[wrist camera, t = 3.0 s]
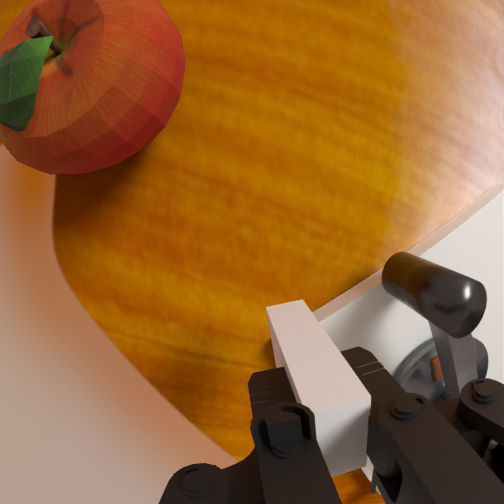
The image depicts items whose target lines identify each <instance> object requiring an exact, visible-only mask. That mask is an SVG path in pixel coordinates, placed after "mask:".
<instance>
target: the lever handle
mask: <svg viewBox="0 0 504 504" xmlns="http://www.w3.org/2000/svg"><path fill="white" fill-rule="evenodd" d="M382 285H383V287H384V289H385V291H386V292H387V293H389V294H390V295H392V296H393V297H395V298H396V299H398V300H399V301H400V302H402V303H403V304H405V305H406V306H408V307H409V308H411V309H412V310H414V311H415V312H417V313H418V314H420V315H421V316H423V317H424V318H425V319H427V320H428V323H429V326H430V329H431V333H432V336H433V338H431V339H429V340H428V341H427V342H425V343H424V344H422V345H421V346H420V347H419V348H418V349H416V350H415V351H414V352H413V353H412V354H411V355H410V356H409V357H408V358H407V359H406V361H405V362H404V363H403V364H402V366H401V367H400V368H399V369H398V371H397V372H396V374H395V375H394V377H393V378H394V379H395V380H396V381H397V382H398V383H399V384H400V386H401V387H402V388H403V389H404V390H405V391H406V393H416V394H419V395H423V396H424V397H425V398H427V399H428V400H429V401H430V402H440V401H445V400H450V399H455V398H459V397H460V393H461V389H462V388H463V387H464V385H465V384H466V383H468V382H470V381H471V380H474V379H479V378H486V375H487V370H488V352H487V350H486V347H485V346H484V344H483V343H482V342H481V341H479V340H478V339H476V338H475V337H473V336H472V334H471V333H472V332H473V331H474V330H475V328H476V327H477V326H478V325H479V323H480V321H481V320H482V318H483V315H484V313H485V309H486V305H487V293H486V289H485V287H484V285H483V284H482V283H481V282H479V281H477V280H475V279H472V278H470V277H468V276H465V275H463V274H460V273H458V272H456V271H453V270H451V269H448V268H446V267H443V266H441V265H438V264H436V263H433V262H431V261H428V260H426V259H423V258H421V257H418V256H415V255H413V254H410V253H408V252H399V253H396V254H394V255H393V256H391V257H390V258H389V259H388V261H387V262H386V264H385V265H384V268H383V271H382ZM490 443H491V444H498V443H497V442H495V441H494V440H492V439H491V441H490Z"/></svg>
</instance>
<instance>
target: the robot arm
mask: <svg viewBox="0 0 504 504" xmlns="http://www.w3.org/2000/svg"><path fill="white" fill-rule="evenodd" d="M266 312H267V317H268V323H269V329H270V334H271V340H272V346H273V352H274V357H275V363H276V367H277V368H275V369H270V370H265V371H260V372H255V373H253V374H252V376H251V378H250V380H249V382H248V388H249V395H250V401H251V408H252V414H253V419H252V420H251V427H250V429H251V433H252V437H253V440H254V444H255V447H254V450H253V451H252V452H251V453H250V455H249V456H247V457H246V458H245V459H244V460H242V461H240V462H238V463H236V464H234V465H232V466H230V467H227V468H224V469H220V468H219V467H217V466H216V465H211V464H206V463H200V464H192V465H189V466H186V467H183V468H182V469H180V470H179V471H177V472H176V473H174V475H173V476H172V477H171V479H170V480H169V482H168V484H167V486H166V488H165V491H164V493H163V495H162V497H161V500H160V502H159V504H342V503H341V500H340V498H339V495H338V493H337V490H336V487H335V485H334V482H333V480H332V477H334V476H337V475H341V474H344V473H347V472H350V471H353V470H356V469H359V468H362V467H365V466H366V464H367V455H368V457H369V459H370V461H371V462H372V464H373V473H372V480H371V487H370V488H371V494H373V493H375V491H376V486H377V487H378V489H379V491H380V493H381V495H382V497H383V499H384V501H385V503H386V504H504V384H502V383H500V382H498V381H496V380H493V379H490V378H479V379H474V380H471V381H470V382H468V383H466V384H465V385H464V387H463V388H462V389H461V393H460V397H459V398H455V399H450V400H445V401H440V402H430V401H429V400H428V399H427V398H425V397H424V396H423V395H419V394H416V393H406V391H405V390H404V389H403V388H402V387H401V386H400V384H399V383H398V382H397V381H396V380H395V379H394V378H393V376H392V375H391V374H390V373H389V372H388V371H387V370H386V369H384V366H383V365H382V364H381V363H380V362H378V359H377V358H376V357H375V356H374V355H373V354H372V352H370V351H368V350H366V349H364V348H362V347H359V346H358V347H354V348H351V349H347V350H344V351H339V350H338V348H337V347H336V346H335V344H334V343H333V341H332V340H331V339H330V337H329V336H328V334H327V333H326V332H325V330H324V329H323V327H322V326H321V325H320V323H319V322H318V320H317V319H316V318H315V316H314V315H313V313H312V312H311V311H310V309H309V308H308V306H307V305H306V304H305V302H304V301H303V299H302V300H298V301H293V302H288V303H284V304H279V305H274V306H269V307H266ZM491 439H492V440H494V441H495V442H497V443H498V444H491V443H490V441H491Z"/></svg>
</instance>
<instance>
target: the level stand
mask: <svg viewBox="0 0 504 504" xmlns="http://www.w3.org/2000/svg"><path fill="white" fill-rule="evenodd" d="M406 252H408V253H410V254H413V255H415V256H418V257H421V258H423V259H426V260H428V261H431V262H433V263H436V264H438V265H441V266H443V267H446V268H448V269H451V270H453V271H456V272H458V273H460V274H463V275H465V276H468V277H470V278H472V279H475V280H477V281H479V282H481V283H482V284H483V285H484V287H485V289H486V293H487V305H486V309H485V313H484V315H483V318H482V320H481V321H480V323H479V325H478V326H477V327H476V328H475V330H474V331H473V332H472V333H471V334H472V336H473V337H475V338H476V339H478V340H479V341H481V342H482V343H483V344H484V346H485V347H486V350H487V352H488V370H487V375H486V378H490V379H493V380H496V381H498V382H500V383H502V384H504V184H495V185H494V186H493V187H491V188H490V189H489V190H488V191H487V192H485V193H484V194H483V195H482V196H480V197H479V198H478V199H477V200H475V201H474V202H473V203H471V204H470V205H469V206H468V207H466V208H465V209H464V210H462V211H461V212H460V213H459V214H457V215H456V216H455V217H453V218H452V219H451V220H449V221H448V222H447V223H445V224H444V225H443V226H441V227H440V228H439V229H437V230H436V231H434V232H433V233H432V234H430V235H429V236H428V237H426V238H425V239H423V240H422V241H421V242H419V243H418V244H416V245H415V246H414V247H412V248H411V249H409V250H408V251H406ZM383 268H384V267H383ZM383 268H381V269H380V270H378V271H377V272H375V273H374V274H372V275H371V276H369V277H368V278H366V279H365V280H363V281H362V282H360V283H359V284H357V285H355V286H354V287H352V288H351V289H349V290H348V291H346V292H344V293H343V294H341V295H340V296H338V297H336V298H335V299H333V300H332V301H330V302H328V303H327V304H325V305H323V306H322V307H320V308H318V309H317V310H315V311H313V312H312V313H313V315H314V316H315V318H316V319H317V320H318V322H319V323H320V325H321V326H322V327H323V329H324V330H325V332H326V333H327V334H328V336H329V337H330V339H331V340H332V341H333V343H334V344H335V346H336V347H337V348H338V350H339V351H344V350H347V349H351V348H354V347H358V346H359V347H362V348H364V349H366V350H368V351H370V352H372V354H373V355H374V356H375V357H376V358H377V359H378V362H380V363H381V364H382V365H383V366H384V369H386V370H387V371H388V372H389V373H390V374H391V375H392V376H393V377H394V375H395V374H396V372H397V371H398V369H399V368H400V367H401V366H402V364H403V363H404V362H405V361H406V359H407V358H408V357H409V356H410V355H411V354H412V353H413V352H414V351H415V350H416V349H418V348H419V347H420V346H421V345H422V344H424V343H425V342H427V341H428V340H429V339H431V338H433V336H432V333H431V329H430V326H429V323H428V320H427V319H425V318H424V317H423V316H421V315H420V314H418V313H417V312H415V311H414V310H412V309H411V308H409V307H408V306H406V305H405V304H403V303H402V302H400V301H399V300H398V299H396V298H395V297H393V296H392V295H390V294H389V293H387V292H386V291H385V289H384V287H383V285H382V271H383ZM361 469H362V470H363V472H364V473H365V475H366V476H367V478H368V479H369V480H370V482H371V480H372V473H373V464H372V462H371V461H370V459H369V457H368V455H367V464H366V466H365V467H362V468H361ZM376 490H377V492H378V493H379V495H381V493H380V491H379V489H378V487H377V486H376Z"/></svg>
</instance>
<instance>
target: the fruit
mask: <svg viewBox="0 0 504 504" xmlns="http://www.w3.org/2000/svg"><path fill="white" fill-rule="evenodd" d="M184 72H185V58H184V51H183V45H182V39H181V34H180V33H179V31H178V29H177V28H176V26H175V25H174V23H173V21H172V20H171V18H170V17H169V15H168V14H167V12H166V10H165V9H164V7H163V6H162V4H161V3H160V2H159V1H158V0H34V1H33V2H32V3H30V4H29V5H28V6H27V7H26V8H25V9H24V10H23V11H22V12H21V13H20V14H19V16H18V17H17V18H16V19H15V21H14V22H13V23H12V25H11V26H10V27H9V29H8V30H7V31H6V33H5V35H4V37H3V39H2V40H1V42H0V141H1V142H2V143H3V144H4V146H5V147H6V148H7V149H8V150H9V151H10V153H11V154H12V155H13V156H14V157H15V159H16V160H17V161H19V162H21V163H23V164H25V165H28V166H30V167H32V168H34V169H37V170H39V171H42V172H45V173H49V174H70V175H79V174H84V173H89V172H92V171H96V170H99V169H103V168H107V167H110V166H114V165H117V164H119V163H120V162H122V161H124V160H126V159H127V158H129V157H131V156H132V155H134V154H136V153H138V152H139V151H141V150H143V149H144V148H145V147H146V146H147V145H148V144H149V143H150V142H151V141H152V140H153V138H154V137H155V136H156V135H157V134H158V133H159V132H160V131H161V130H162V129H163V128H164V127H165V126H166V124H167V122H168V120H169V118H170V116H171V114H172V112H173V110H174V109H175V107H176V105H177V103H178V101H179V99H180V93H181V88H182V82H183V77H184Z"/></svg>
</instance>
